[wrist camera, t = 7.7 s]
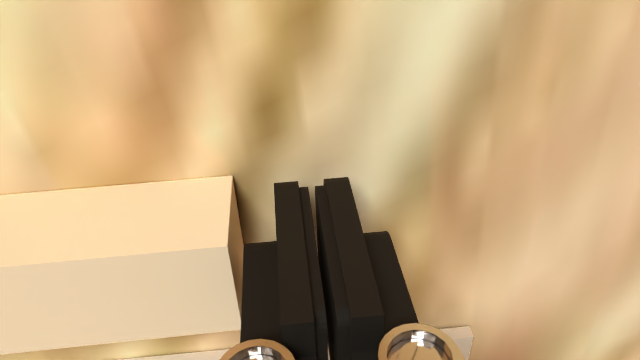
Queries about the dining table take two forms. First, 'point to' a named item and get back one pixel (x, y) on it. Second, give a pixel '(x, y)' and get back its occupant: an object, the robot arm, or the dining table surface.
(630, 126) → the dining table surface
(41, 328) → the cream rectangular bar
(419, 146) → the dining table surface
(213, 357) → the mat
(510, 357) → the dining table surface
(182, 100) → the dining table surface
